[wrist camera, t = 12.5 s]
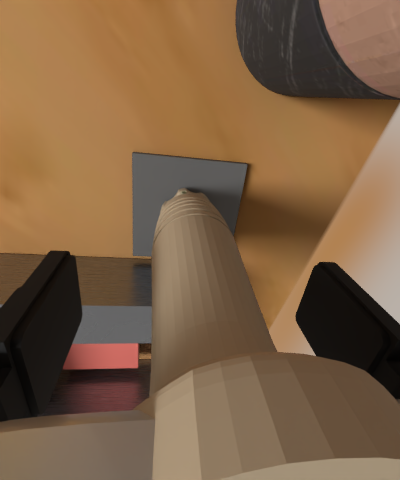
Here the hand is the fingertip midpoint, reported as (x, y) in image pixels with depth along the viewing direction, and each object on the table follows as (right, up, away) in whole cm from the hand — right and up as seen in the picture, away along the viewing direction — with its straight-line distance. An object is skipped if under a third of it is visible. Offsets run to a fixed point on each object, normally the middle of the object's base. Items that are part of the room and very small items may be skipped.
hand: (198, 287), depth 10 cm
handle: (-1, +4, +7) cm, 8 cm away
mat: (-1, +4, +7) cm, 8 cm away
